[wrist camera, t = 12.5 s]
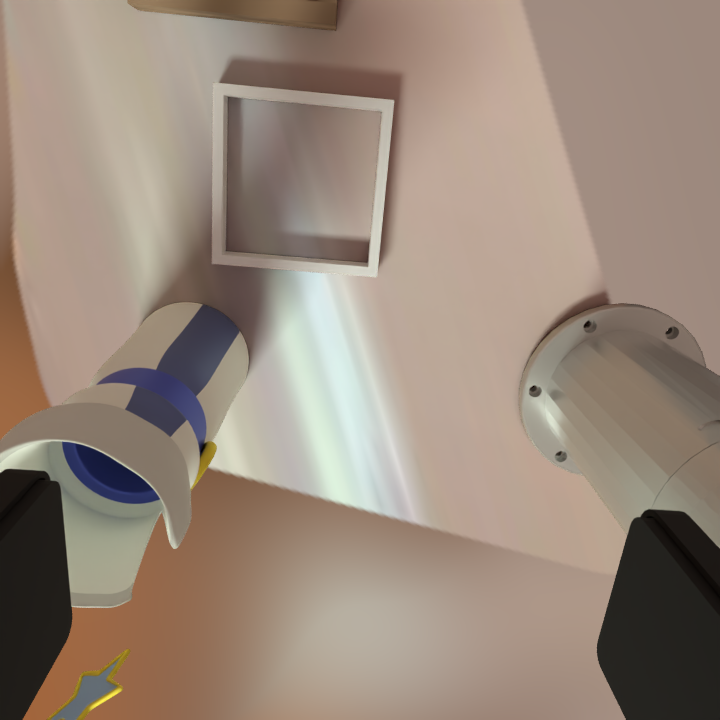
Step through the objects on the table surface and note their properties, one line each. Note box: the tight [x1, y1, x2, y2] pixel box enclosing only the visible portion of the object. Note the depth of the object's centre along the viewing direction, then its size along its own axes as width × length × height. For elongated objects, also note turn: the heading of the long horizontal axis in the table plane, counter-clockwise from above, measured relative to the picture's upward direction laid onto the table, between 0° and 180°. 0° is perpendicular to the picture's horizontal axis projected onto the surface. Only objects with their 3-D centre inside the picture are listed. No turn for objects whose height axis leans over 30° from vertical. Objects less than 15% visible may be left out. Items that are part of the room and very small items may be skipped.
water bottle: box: [0, 302, 249, 720], centre depth 29 cm, size 8×9×25 cm
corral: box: [212, 82, 394, 277], centre depth 36 cm, size 10×10×1 cm
